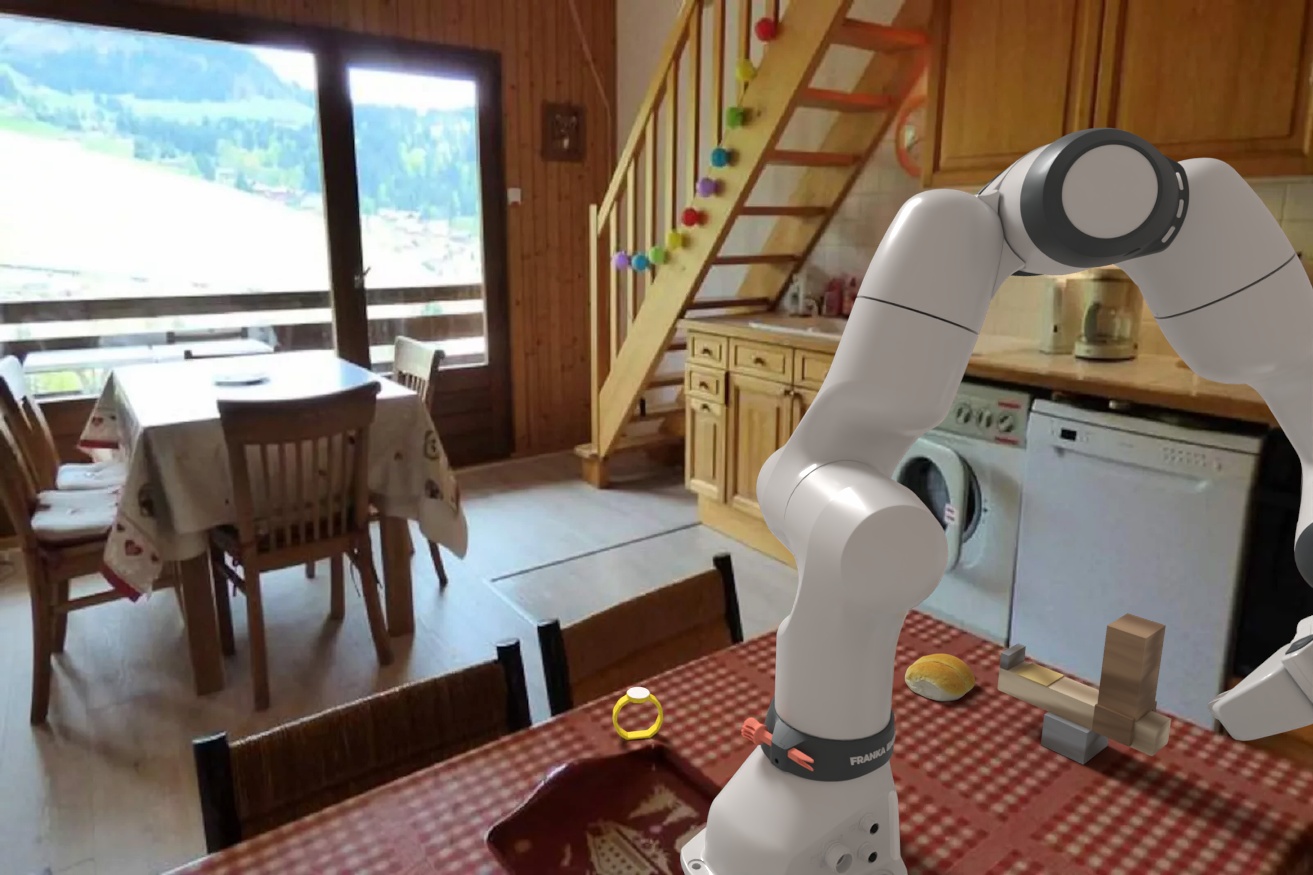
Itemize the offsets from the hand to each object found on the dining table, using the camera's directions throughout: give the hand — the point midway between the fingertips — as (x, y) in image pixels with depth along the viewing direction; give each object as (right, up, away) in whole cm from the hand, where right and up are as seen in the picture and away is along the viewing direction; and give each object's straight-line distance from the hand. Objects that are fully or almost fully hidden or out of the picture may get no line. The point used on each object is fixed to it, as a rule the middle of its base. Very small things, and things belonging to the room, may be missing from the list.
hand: (1216, 708), depth 88 cm
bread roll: (-20, -6, +27) cm, 34 cm away
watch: (-60, -8, +15) cm, 62 cm away
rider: (-5, -5, +8) cm, 11 cm away
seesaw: (-8, -8, +13) cm, 18 cm away
